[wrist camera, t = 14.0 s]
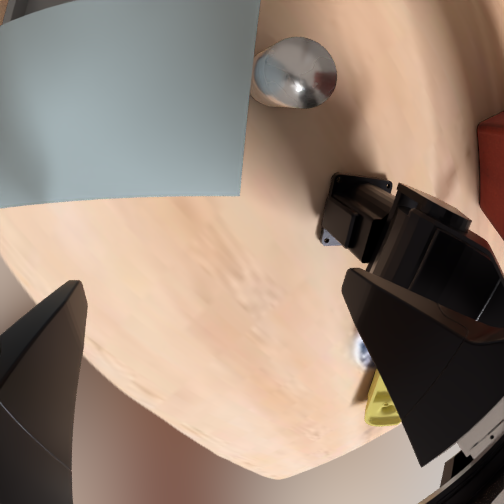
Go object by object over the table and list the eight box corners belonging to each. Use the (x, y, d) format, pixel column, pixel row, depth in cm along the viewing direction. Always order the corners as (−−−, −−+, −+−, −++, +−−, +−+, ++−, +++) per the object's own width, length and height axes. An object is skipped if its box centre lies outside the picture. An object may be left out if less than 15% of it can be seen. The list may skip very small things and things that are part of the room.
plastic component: (382, 367, 36) (440, 362, 34) (377, 333, 43) (429, 331, 40) (359, 427, 45) (405, 424, 43) (359, 398, 52) (402, 396, 49)
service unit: (229, 40, 15) (275, -11, 7) (217, 160, 19) (251, 208, 11) (29, 58, 11) (-54, 46, 3) (27, 171, 16) (-51, 225, 7)
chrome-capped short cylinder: (305, 56, 17) (339, 47, 13) (299, 110, 19) (332, 114, 15) (247, 46, 16) (268, 30, 12) (241, 103, 18) (260, 102, 14)
